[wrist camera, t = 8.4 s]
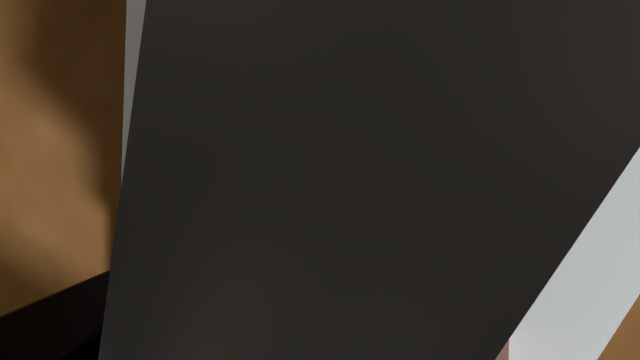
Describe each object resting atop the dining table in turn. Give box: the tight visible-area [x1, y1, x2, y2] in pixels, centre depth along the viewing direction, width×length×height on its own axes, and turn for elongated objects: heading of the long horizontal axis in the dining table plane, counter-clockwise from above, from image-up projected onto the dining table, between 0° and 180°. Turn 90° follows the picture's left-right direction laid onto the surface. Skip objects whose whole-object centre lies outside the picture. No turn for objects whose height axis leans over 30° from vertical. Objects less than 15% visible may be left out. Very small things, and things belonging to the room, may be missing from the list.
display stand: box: [121, 0, 640, 360], centre depth 12 cm, size 20×12×4 cm, turn 168°
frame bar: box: [98, 0, 640, 360], centre depth 8 cm, size 14×3×4 cm, turn 163°
